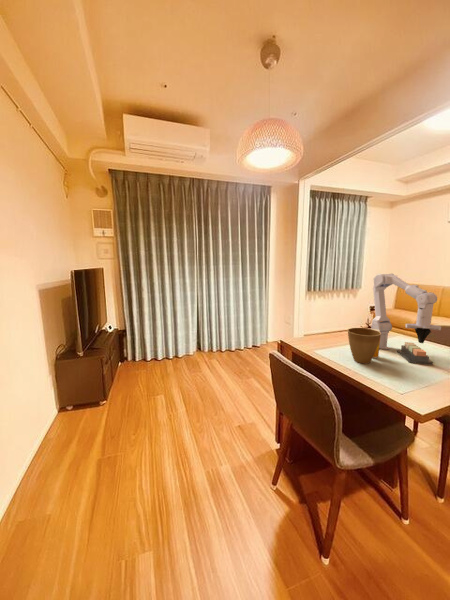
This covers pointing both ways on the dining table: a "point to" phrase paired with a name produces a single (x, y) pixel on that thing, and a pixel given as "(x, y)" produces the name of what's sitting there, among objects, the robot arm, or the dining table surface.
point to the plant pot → (363, 343)
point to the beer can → (377, 347)
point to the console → (413, 357)
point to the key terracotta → (419, 352)
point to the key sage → (413, 348)
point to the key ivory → (409, 344)
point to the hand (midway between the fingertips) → (420, 342)
